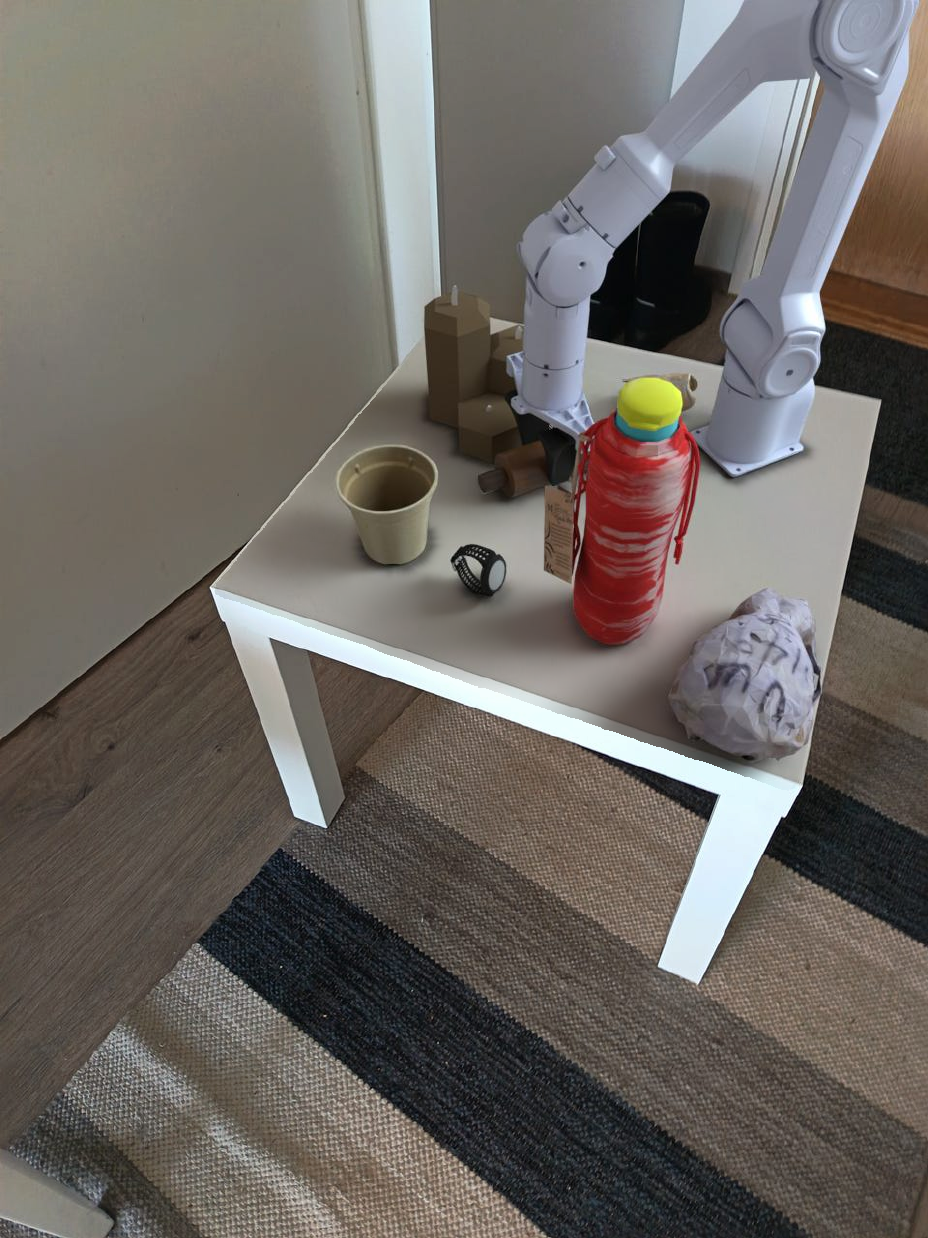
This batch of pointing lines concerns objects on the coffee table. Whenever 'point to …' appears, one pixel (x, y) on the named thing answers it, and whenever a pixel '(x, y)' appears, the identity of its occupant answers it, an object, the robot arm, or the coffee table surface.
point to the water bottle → (624, 511)
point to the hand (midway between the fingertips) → (546, 465)
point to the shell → (678, 386)
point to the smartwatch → (490, 573)
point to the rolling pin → (518, 470)
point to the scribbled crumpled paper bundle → (752, 680)
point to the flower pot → (389, 499)
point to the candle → (471, 373)
